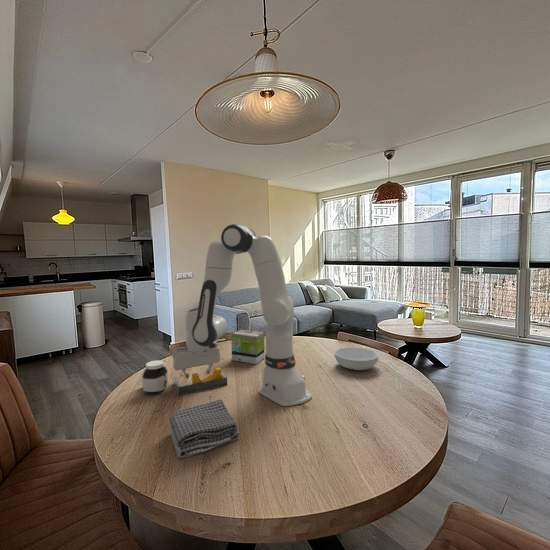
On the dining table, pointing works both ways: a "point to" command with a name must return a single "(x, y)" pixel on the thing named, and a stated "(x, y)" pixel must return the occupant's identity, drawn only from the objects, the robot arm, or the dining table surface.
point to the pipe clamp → (211, 377)
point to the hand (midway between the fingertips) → (197, 375)
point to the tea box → (247, 346)
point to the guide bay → (200, 385)
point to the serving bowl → (356, 358)
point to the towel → (202, 428)
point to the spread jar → (154, 377)
